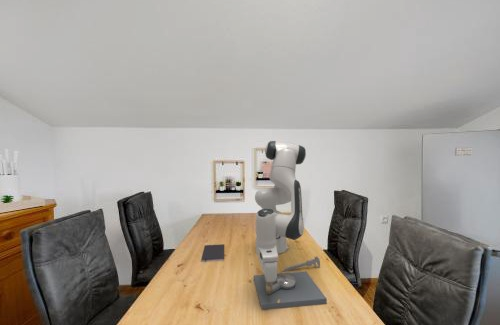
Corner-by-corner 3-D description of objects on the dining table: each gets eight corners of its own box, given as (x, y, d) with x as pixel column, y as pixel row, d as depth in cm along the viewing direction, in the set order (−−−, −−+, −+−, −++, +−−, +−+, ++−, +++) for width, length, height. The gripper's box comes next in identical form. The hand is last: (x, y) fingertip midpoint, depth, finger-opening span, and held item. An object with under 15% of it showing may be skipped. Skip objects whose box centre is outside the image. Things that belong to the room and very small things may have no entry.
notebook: (224, 261, 123) (224, 246, 144) (224, 258, 123) (224, 244, 144) (201, 262, 122) (204, 247, 143) (201, 260, 122) (204, 245, 143)
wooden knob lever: (285, 276, 101) (285, 262, 101) (299, 284, 95) (299, 268, 95) (260, 289, 92) (260, 272, 92) (273, 298, 86) (273, 281, 85)
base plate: (253, 279, 103) (253, 274, 103) (306, 275, 107) (306, 271, 107) (261, 310, 82) (261, 304, 82) (326, 303, 86) (326, 298, 86)
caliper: (319, 267, 115) (319, 255, 115) (320, 268, 114) (320, 256, 114) (282, 270, 112) (282, 258, 112) (282, 272, 111) (282, 259, 111)
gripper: (254, 239, 102) (255, 268, 103) (263, 259, 82) (264, 296, 82) (268, 238, 103) (268, 267, 104) (279, 258, 83) (280, 294, 83)
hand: (266, 280), depth 93 cm, fingers closed
